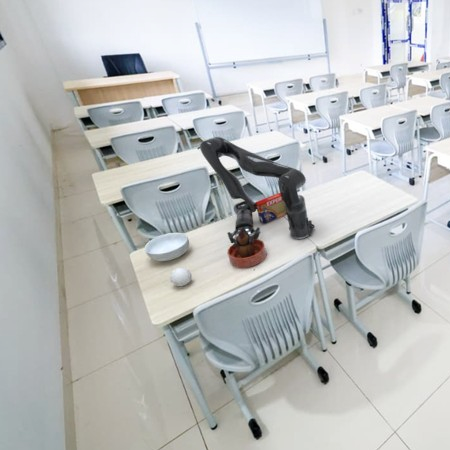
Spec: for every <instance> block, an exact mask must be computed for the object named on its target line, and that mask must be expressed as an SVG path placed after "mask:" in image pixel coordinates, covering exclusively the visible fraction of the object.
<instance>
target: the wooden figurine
mask: <svg viewBox="0 0 450 450" xmlns="http://www.w3.org/2000/svg"><path fill="white" fill-rule="evenodd" d="M239 233H240V235H239V236H238V239H237V240H238V243H239V246H238V253H239V254H240V256H241V257H242V258H246V257H250V256H253V255H254V245H253V244H252V245H250V243H249V236H248V235H247V234H244V233H243V231H241V230H240V231H239Z"/></svg>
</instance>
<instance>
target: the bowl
mask: <svg viewBox="0 0 450 450" xmlns="http://www.w3.org/2000/svg"><path fill="white" fill-rule="evenodd" d="M253 245H254V255H253V256H250V257H246V258H242V257H241V256H240V254H239V253H238V247H235V245H234V243H232V244H231V245H230V246H229V247H228V249H227V253H226V254H227V257H228V260H229V263H230V264H231V265H232V266H233V267H235V268H249V267H253V266H256V265H259V263H261V262H262V261H264V260H265V259H266V257H267V249H266V245H265V242H264V241H263V240H261V239H260V238H258V239H254V240H253Z"/></svg>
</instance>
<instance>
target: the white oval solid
mask: <svg viewBox="0 0 450 450" xmlns="http://www.w3.org/2000/svg"><path fill="white" fill-rule="evenodd" d="M192 277H193V276H192V273H191V271H190V269H187V268H185V267H178V268H175V269H174V270H173V271H172V272H171V273H170V276H169V278H170V283H172V284H173V285H174V286H176V287H184V286H186V285H188V284H189V283H190V282H191V280H192ZM165 286H167V284H165Z"/></svg>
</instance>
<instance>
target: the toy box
mask: <svg viewBox="0 0 450 450" xmlns="http://www.w3.org/2000/svg"><path fill="white" fill-rule="evenodd" d="M254 202H255V204H256V206H257V209H256V212H257V215H258V220H259V223H261V224H262V225H265V224H266V225H267V223H270V222H273V221H274V220H277V219H280V218H282V217H284V216H287V213H286V207H285V203H284V201H283V200H282V197H281V193H280V192H279V193H275V194H273V195H271V196H268V197H265V198H262V199H260V200H257V201H254Z"/></svg>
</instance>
